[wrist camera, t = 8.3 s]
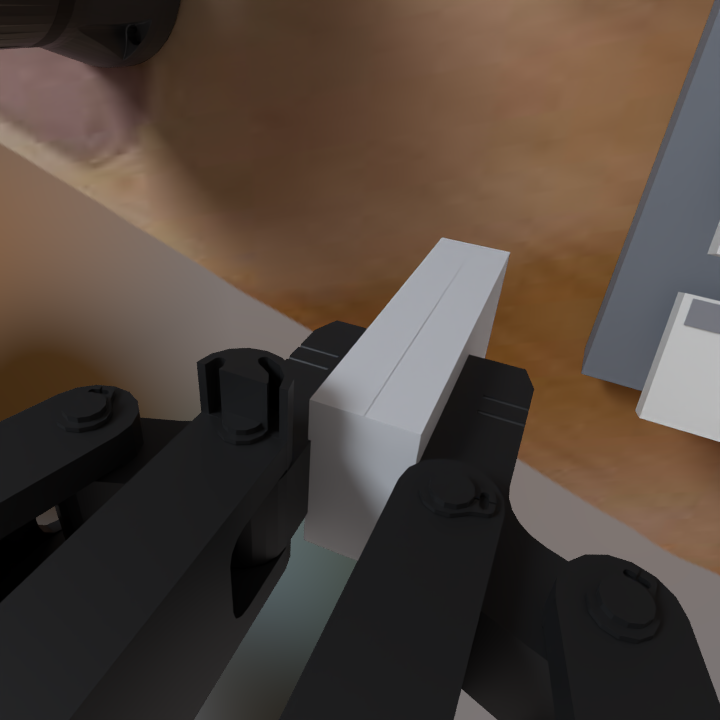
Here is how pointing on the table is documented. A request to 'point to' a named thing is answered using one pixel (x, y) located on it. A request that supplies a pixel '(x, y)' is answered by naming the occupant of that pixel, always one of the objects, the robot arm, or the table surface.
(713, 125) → the switch unit
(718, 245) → the block
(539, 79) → the table surface
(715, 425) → the rocker
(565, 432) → the table surface
